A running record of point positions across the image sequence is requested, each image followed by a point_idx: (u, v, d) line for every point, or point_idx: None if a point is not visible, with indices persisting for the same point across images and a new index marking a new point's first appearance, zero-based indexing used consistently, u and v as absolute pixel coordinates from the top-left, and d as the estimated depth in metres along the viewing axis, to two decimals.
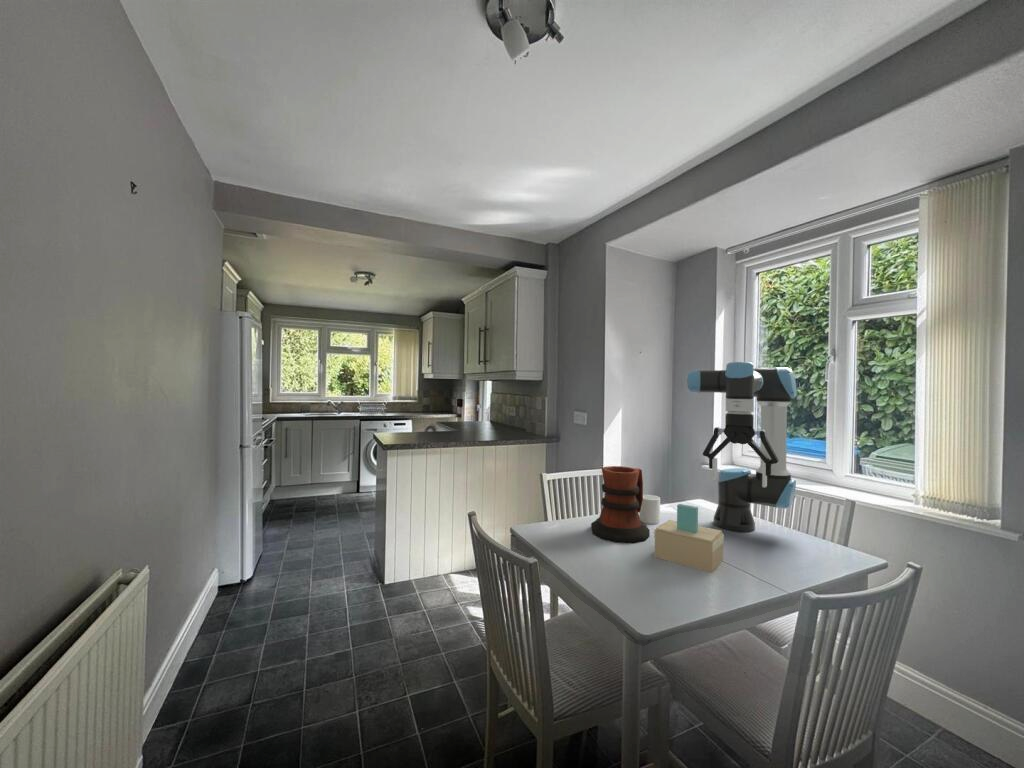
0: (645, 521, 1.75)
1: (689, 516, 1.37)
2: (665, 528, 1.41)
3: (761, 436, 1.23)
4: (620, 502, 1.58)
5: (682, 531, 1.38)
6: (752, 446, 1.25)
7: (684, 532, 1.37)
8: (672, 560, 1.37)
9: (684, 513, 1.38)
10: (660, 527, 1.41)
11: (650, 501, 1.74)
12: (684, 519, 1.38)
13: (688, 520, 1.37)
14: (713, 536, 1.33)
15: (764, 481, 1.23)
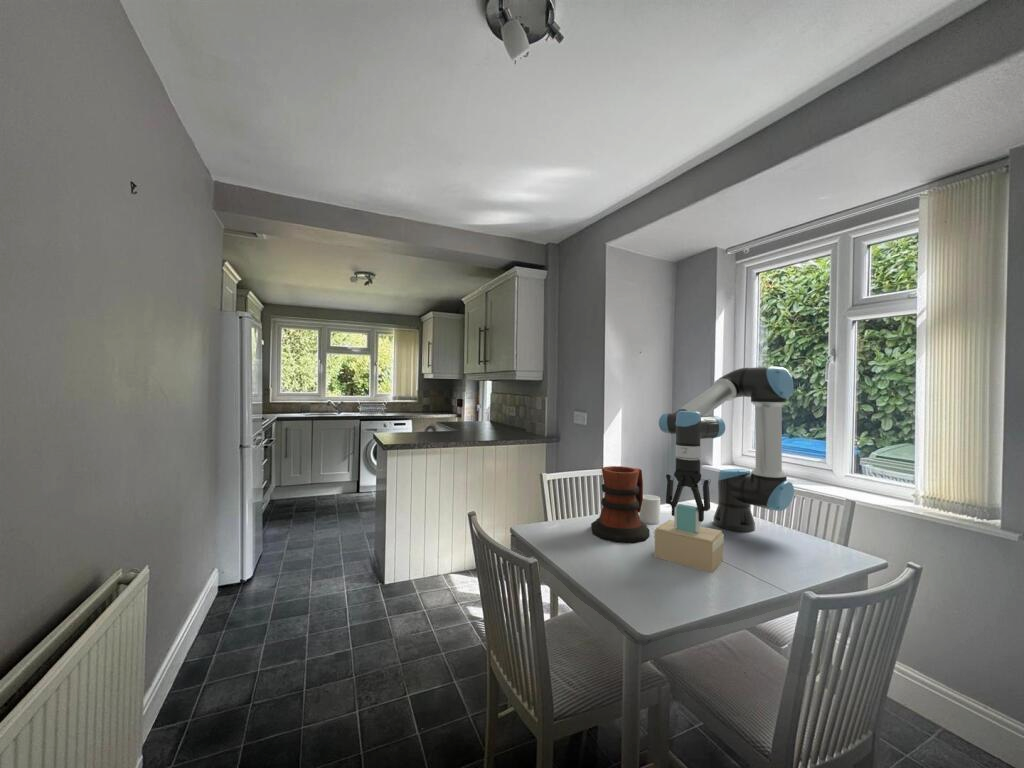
0: (645, 521, 1.75)
1: (689, 516, 1.37)
2: (665, 528, 1.41)
3: (704, 484, 1.34)
4: (620, 502, 1.58)
5: (682, 531, 1.38)
6: (693, 491, 1.36)
7: (684, 532, 1.37)
8: (672, 560, 1.37)
9: (684, 513, 1.38)
10: (660, 527, 1.41)
11: (650, 501, 1.74)
12: (684, 519, 1.38)
13: (688, 520, 1.37)
14: (713, 536, 1.33)
15: (697, 526, 1.35)
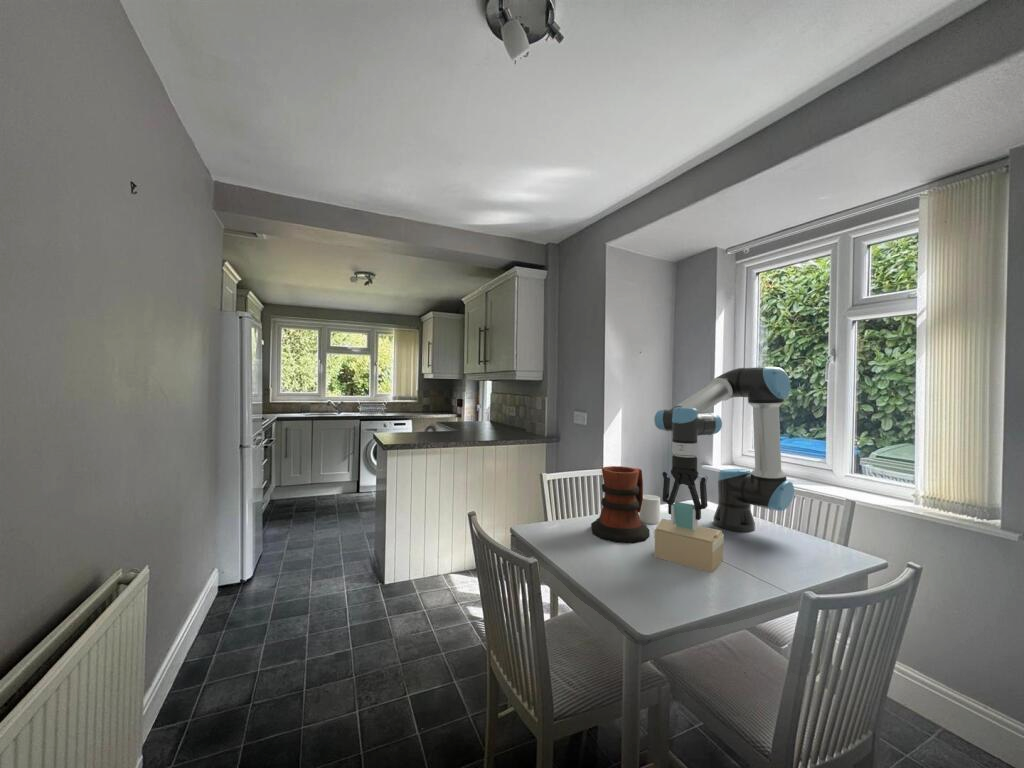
0: (645, 521, 1.75)
1: (687, 515, 1.36)
2: (664, 526, 1.41)
3: (701, 482, 1.32)
4: (620, 502, 1.58)
5: (682, 529, 1.37)
6: (690, 489, 1.34)
7: (684, 530, 1.36)
8: (672, 560, 1.37)
9: (682, 512, 1.36)
10: (660, 526, 1.41)
11: (650, 501, 1.74)
12: (682, 517, 1.37)
13: (686, 518, 1.36)
14: (713, 532, 1.33)
15: (694, 525, 1.33)
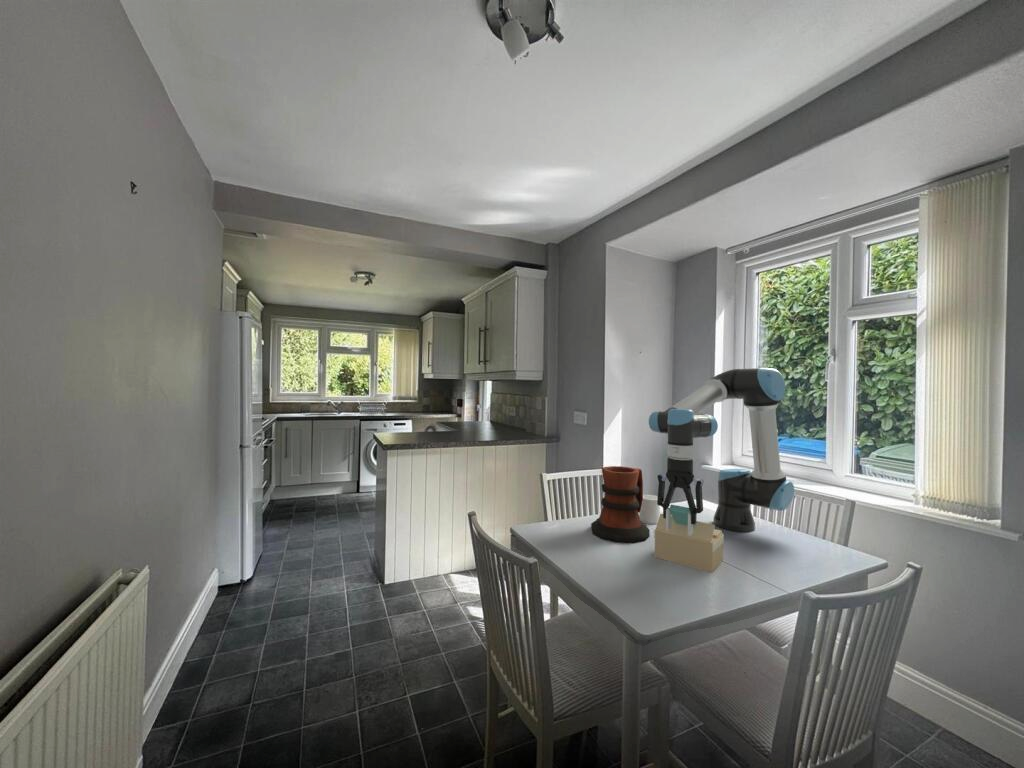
0: (645, 521, 1.75)
1: (684, 517, 1.33)
2: (663, 525, 1.40)
3: (697, 485, 1.28)
4: (620, 502, 1.58)
5: (681, 527, 1.37)
6: (686, 493, 1.30)
7: (683, 529, 1.36)
8: (672, 560, 1.37)
9: (678, 515, 1.34)
10: (659, 525, 1.41)
11: (650, 501, 1.74)
12: (680, 518, 1.35)
13: (684, 519, 1.34)
14: (711, 528, 1.32)
15: (689, 529, 1.30)
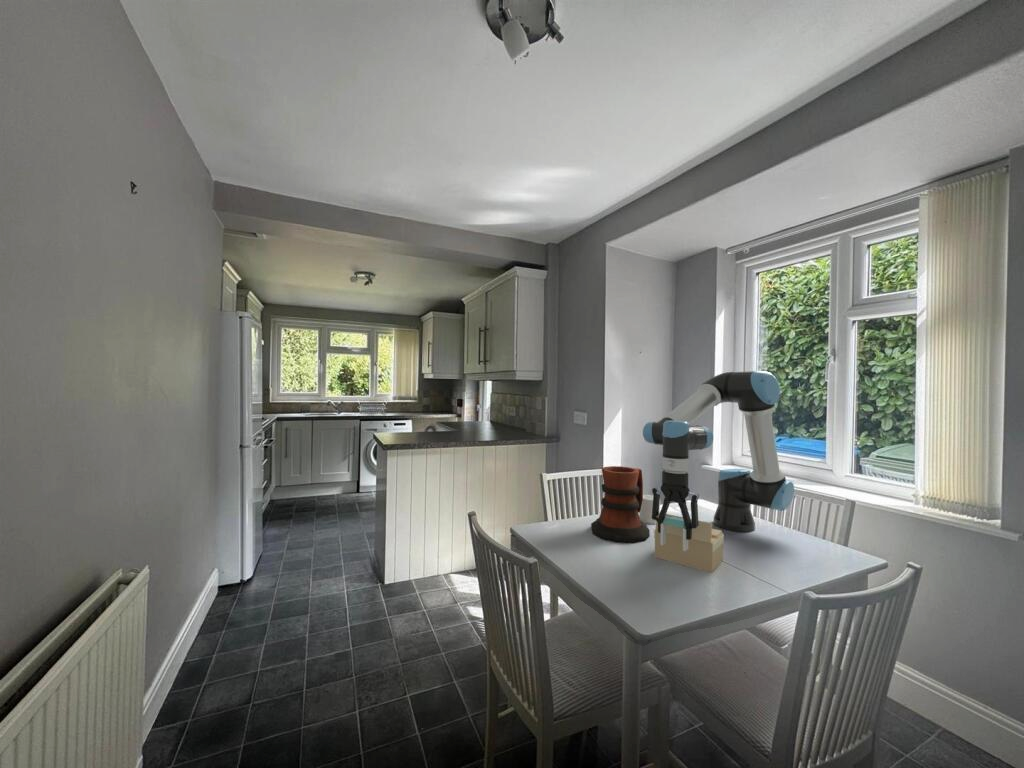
0: (645, 521, 1.75)
1: None
2: None
3: (692, 500, 1.25)
4: (620, 502, 1.58)
5: (679, 527, 1.35)
6: (681, 507, 1.27)
7: (682, 529, 1.35)
8: (672, 560, 1.37)
9: None
10: None
11: (650, 501, 1.74)
12: None
13: None
14: (709, 527, 1.30)
15: (684, 545, 1.26)
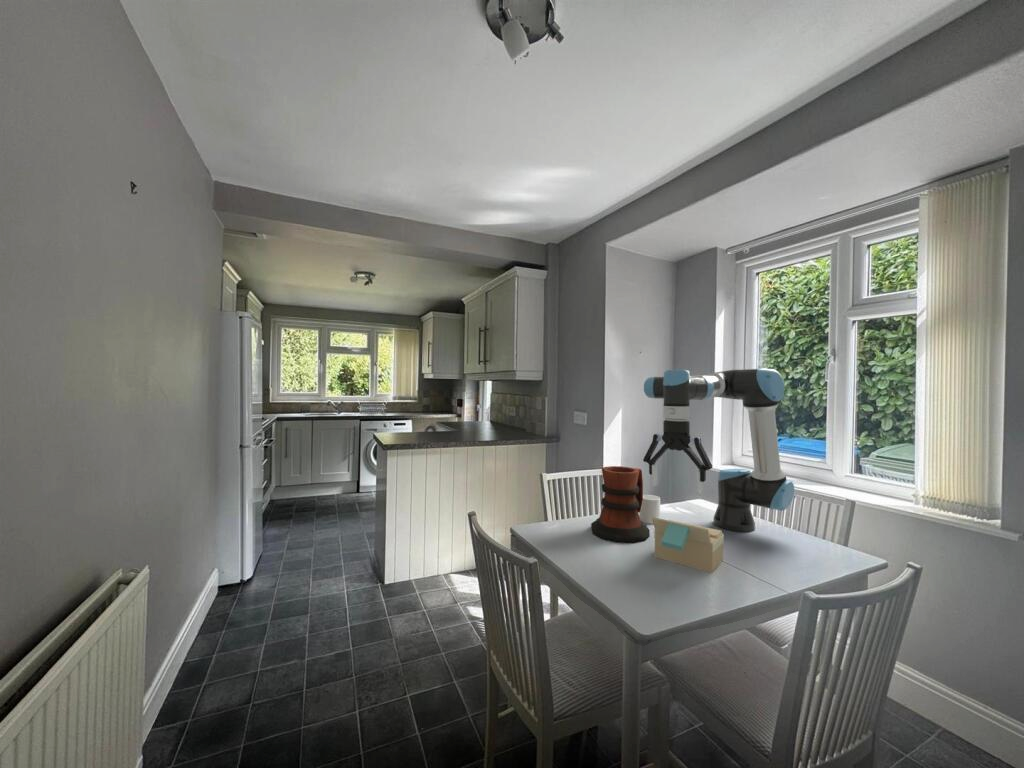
0: (645, 521, 1.75)
1: None
2: (660, 528, 1.38)
3: (695, 443, 1.25)
4: (620, 502, 1.58)
5: None
6: (687, 452, 1.27)
7: None
8: (672, 560, 1.37)
9: None
10: (657, 528, 1.39)
11: (650, 501, 1.74)
12: None
13: None
14: (706, 533, 1.28)
15: (698, 487, 1.25)
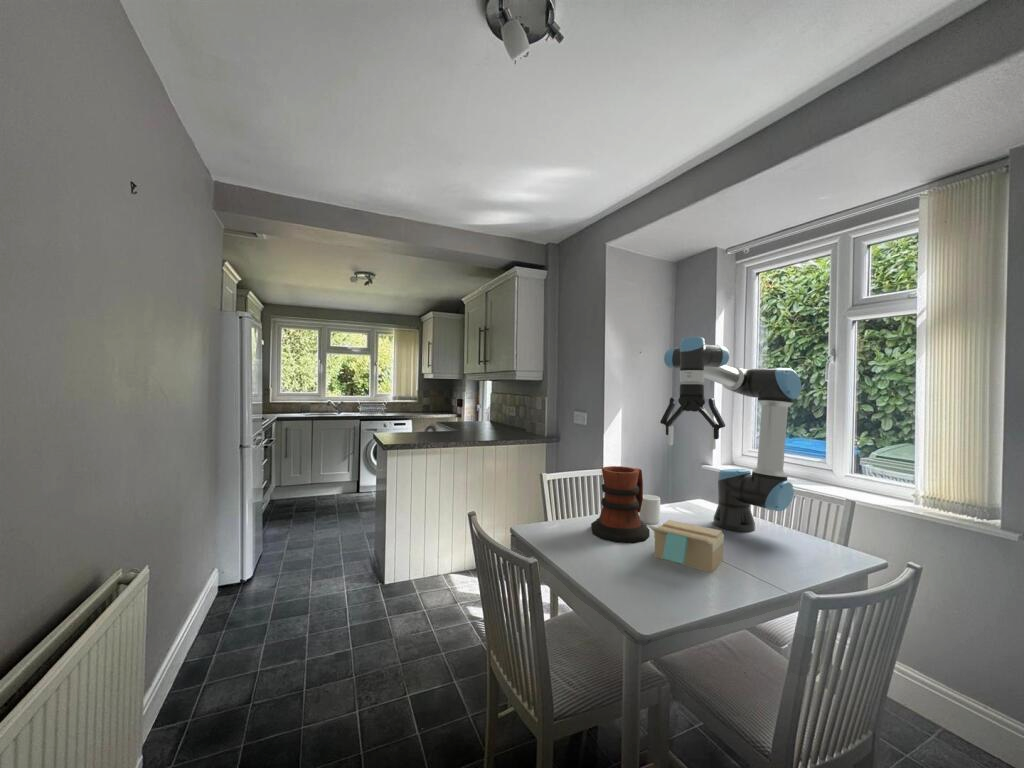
0: (645, 521, 1.75)
1: None
2: (660, 532, 1.38)
3: (710, 403, 1.36)
4: (620, 502, 1.58)
5: None
6: (702, 413, 1.38)
7: None
8: None
9: None
10: (656, 531, 1.39)
11: (650, 501, 1.74)
12: None
13: None
14: (705, 541, 1.27)
15: (712, 444, 1.36)
